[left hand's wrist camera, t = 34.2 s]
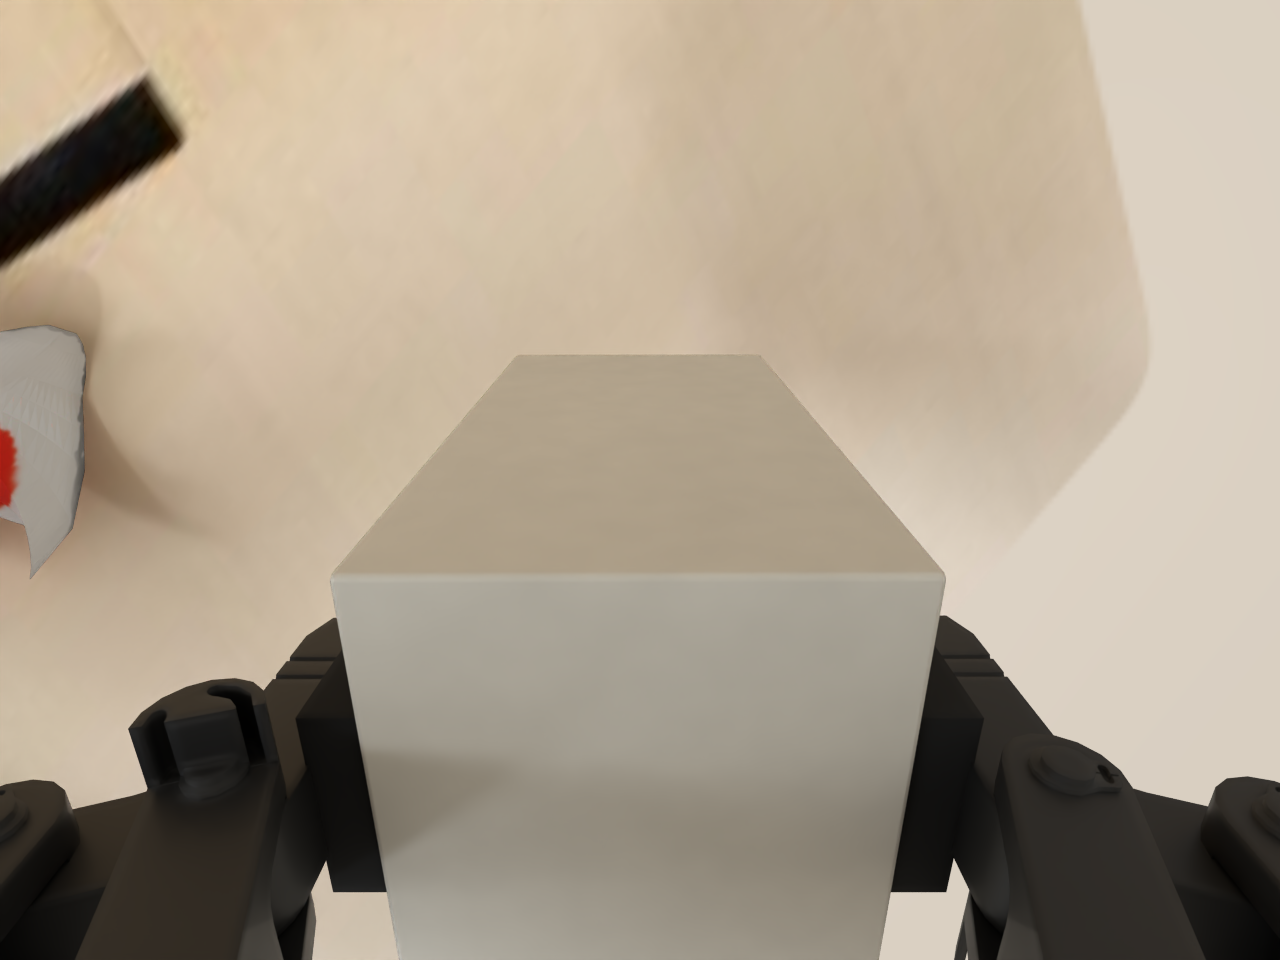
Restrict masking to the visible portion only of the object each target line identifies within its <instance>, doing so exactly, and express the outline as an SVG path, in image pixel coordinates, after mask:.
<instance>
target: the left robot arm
mask: <svg viewBox="0 0 1280 960" xmlns="http://www.w3.org/2000/svg"><path fill="white" fill-rule="evenodd" d="M128 730H129V733H130V736H131V739H132V742H133V745H134V748H135V751H136V754H137V757H138V760H139V763H140V766H141V769H142V772H143V775H144V779H145V782H146V785H147V788H148V789H147V791H146V792H144V793H140V794H137V795H134V796H129V797H125V798H121V799H116V800H112V801H107V802H103V803H99V804H94V805H90V806H86V807H81V808H77V809H72V808H71V805H70V802H69V800H68V797H67V795H66V792H65V790H64V789H63V788H61V787H60V786H59V785H57V784H56V783H55V782H52V781H42V780H28V781H22V782H17V783H11V784H6V785H3V786H0V960H312V954H313V945H314V936H315V927H316V916H315V909H314V903H313V899H312V894H311V891H312V889H313V886H314V884H315V882H316V880H317V878H318V876H319V874H320V872H321V870H322V868H323V866H324V864H325V862H326V861H327V866H328V870H329V875H330V879H331V884H332V889H333V892H387V890H386V885H385V879H384V874H383V868H382V863H381V857H380V852H379V846H378V841H377V835H376V830H375V824H374V819H373V814H372V808H371V803H370V797H369V792H368V786H367V781H366V775H365V770H364V764H363V759H362V753H361V748H360V742H359V737H358V731H357V726H356V720H355V715H354V709H353V704H352V699H351V693H350V688H349V682H348V677H347V671H346V666H345V660H344V655H343V649H342V644H341V638H340V633H339V627H338V622H337V618H333V619H331V620H330V621H328V622H327V623H325V624H324V625H322V626H321V627H319V628H318V629H316V630H315V631H313V632H312V633H310V634H309V635H307V636H306V637H305V639H304V640H303V641H302V642H301V644H300V645H299V646H298V648H297V649H296V650H295V651H294V653H293V654H292V655H291V657H290V661H287V662H286V663H285V664H284V665H283V667H282V668H281V669H280V671H279V672H278V673H277V674H276V679H272V681H271V682H270V683H269V685H268V686H267V687H266V688H265V690H264V691H263V690H262V689H261V688H260V687H259V686H257V685H256V684H255V683H254V682H251V681H246V680H241V679H236V678H232V679H219V680H210V681H206V682H203V683H199V684H195V685H191V686H188V687H185V688H183V689H181V690H179V691H176V692H174V693H172V694H170V695H168V696H165V697H163V698H161V699H160V700H159V701H157V702H156V703H154V704H153V705H151V706H150V707H149V708H147V709H146V710H144V711H143V712H142V713H141V714H140V715H139V716H138V717H137V719H136V720H135V721H134V722H133V724H132V725H131V726H130V727H129V728H128ZM953 859H955V861H956V863H957V865H958V867H959V869H960V872H961V874H962V876H963V878H964V880H965V882H966V884H967V886H968V888H969V894H968V899H967V903H966V907H965V911H964V916H963V920H962V924H961V928H960V933H959V937H958V941H957V945H956V951H955V958H954V960H965V958H966V954H967V952H968V960H1280V783H1278V782H1275V781H1270V780H1265V779H1259V778H1253V777H1237V778H1227V779H1226V780H1224V781H1223V782H1222V783H1220V784H1219V785H1218V786H1216V787H1215V790H1214V793H1213V795H1212V798H1211V800H1210V803H1209V806H1203V805H1199V804H1195V803H1190V802H1186V801H1181V800H1177V799H1173V798H1168V797H1164V796H1159V795H1155V794H1151V793H1146V792H1143V791H1140V790H1136V789H1133V788H1132V786H1131V785H1130V783H1129V782H1128V781H1127V779H1126V778H1125V776H1124V775H1123V773H1122V772H1121V771H1120V770H1119V769H1118V768H1117V767H1115V766H1114V765H1113V764H1112V763H1111V762H1109V761H1108V760H1107V759H1106V758H1104V757H1103V756H1102V755H1101V754H1099V753H1097V752H1095V751H1093V750H1091V749H1089V748H1087V747H1085V746H1083V745H1081V744H1079V743H1077V742H1074V741H1071V740H1067V739H1064V738H1061V737H1057V736H1054V735H1053V734H1052V733H1051V732H1050V730H1049V729H1048V728H1047V726H1046V725H1045V724H1044V723H1043V721H1042V720H1041V719H1040V718H1039V716H1038V715H1037V714H1036V713H1035V711H1034V710H1033V709H1032V707H1031V706H1030V705H1029V704H1028V702H1027V701H1026V700H1025V699H1024V697H1023V696H1022V695H1021V694H1020V692H1019V691H1018V690H1017V688H1016V687H1015V686H1014V685H1013V683H1012V682H1011V681H1010V680H1009V678H1008V677H1004V672H1003V671H1002V669H1001V668H1000V667H999V666H998V664H997V663H996V662H995V661H994V659H990V654H989V653H988V652H987V650H986V649H985V648H984V647H983V645H982V644H981V643H980V642H979V640H978V639H977V638H976V637H975V635H974V634H973V633H971V632H970V631H968V630H967V629H965V628H964V627H962V626H961V625H959V624H958V623H956V622H955V621H953V620H952V619H950V618H949V617H947V616H940V617H939V622H938V628H937V634H936V639H935V645H934V650H933V656H932V662H931V667H930V673H929V679H928V684H927V690H926V696H925V701H924V707H923V712H922V718H921V724H920V729H919V735H918V741H917V746H916V752H915V758H914V763H913V769H912V774H911V780H910V786H909V791H908V797H907V803H906V808H905V814H904V820H903V825H902V831H901V836H900V842H899V848H898V853H897V859H896V865H895V870H894V876H893V882H892V887H891V892H946V891H947V886H948V882H949V877H950V872H951V868H952V863H953Z"/></svg>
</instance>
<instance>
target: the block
mask: <svg viewBox="0 0 1280 960" xmlns="http://www.w3.org/2000/svg"><path fill="white" fill-rule="evenodd" d="M945 583H946V577H945V574H944V572H943V571H942V569H941V568H940V567H939V566H938V565H937V564H936V562H935V561H934V560H933V559H932V558H931V556H930V555H929V554H928V553H927V552H926V551H925V549H924V548H923V547H922V546H921V545H920V543H919V542H918V541H917V540H916V539H915V538H914V536H913V535H912V534H911V533H910V532H909V530H908V529H907V528H906V527H905V526H904V525H903V523H902V522H901V521H900V520H899V519H898V518H897V516H896V515H895V514H894V513H893V512H892V510H891V509H890V508H889V507H888V506H887V505H886V503H885V502H884V501H883V500H882V499H881V497H880V496H879V495H878V494H877V493H876V492H875V490H874V489H873V488H872V487H871V486H870V484H869V483H868V482H867V481H866V480H865V479H864V477H863V476H862V475H861V474H860V473H859V471H858V470H857V469H856V468H855V467H854V466H853V464H852V463H851V462H850V461H849V460H848V458H847V457H846V456H845V455H844V454H843V453H842V451H841V450H840V449H839V448H838V447H837V445H836V444H835V443H834V442H833V441H832V440H831V438H830V437H829V436H828V435H827V434H826V432H825V431H824V430H823V429H822V428H821V427H820V425H819V424H818V423H817V422H816V421H815V419H814V418H813V417H812V416H811V415H810V414H809V412H808V411H807V410H806V409H805V408H804V406H803V405H802V404H801V403H800V402H799V401H798V399H797V398H796V397H795V396H794V395H793V394H792V392H791V391H790V390H789V389H788V388H787V386H786V385H785V384H784V383H783V382H782V381H781V379H780V378H779V377H778V376H777V375H776V373H775V372H774V371H773V370H772V369H771V368H770V366H769V365H768V364H767V363H766V362H765V360H764V359H763V358H762V357H761V356H760V355H518V356H516V357H515V358H514V360H513V361H512V362H511V363H510V364H509V366H508V367H507V368H506V369H505V370H504V371H503V373H502V374H501V375H500V376H499V377H498V379H497V380H496V381H495V382H494V383H493V384H492V386H491V387H490V388H489V389H488V390H487V391H486V393H485V394H484V395H483V396H482V397H481V399H480V400H479V401H478V402H477V403H476V404H475V406H474V407H473V408H472V409H471V410H470V412H469V413H468V414H467V415H466V416H465V417H464V419H463V420H462V421H461V422H460V423H459V425H458V426H457V427H456V428H455V429H454V430H453V432H452V433H451V434H450V435H449V436H448V437H447V439H446V440H445V441H444V442H443V443H442V445H441V446H440V447H439V448H438V449H437V450H436V452H435V453H434V454H433V455H432V456H431V458H430V459H429V460H428V461H427V462H426V463H425V465H424V466H423V467H422V468H421V469H420V470H419V472H418V473H417V474H416V475H415V476H414V478H413V479H412V480H411V481H410V482H409V483H408V485H407V486H406V487H405V488H404V489H403V491H402V492H401V493H400V494H399V495H398V496H397V498H396V499H395V500H394V501H393V502H392V503H391V505H390V506H389V507H388V508H387V509H386V511H385V512H384V513H383V514H382V515H381V516H380V518H379V519H378V520H377V521H376V522H375V524H374V525H373V526H372V527H371V528H370V529H369V531H368V532H367V533H366V534H365V535H364V536H363V538H362V539H361V540H360V541H359V542H358V544H357V545H356V546H355V547H354V548H353V549H352V551H351V552H350V553H349V554H348V555H347V557H346V558H345V559H344V560H343V561H342V562H341V564H340V565H339V566H338V567H337V568H336V570H335V571H334V572H333V573H332V575H331V578H330V584H331V589H332V594H333V600H334V605H335V611H336V616H337V622H338V627H339V633H340V638H341V644H342V649H343V655H344V660H345V666H346V671H347V677H348V682H349V688H350V693H351V699H352V704H353V709H354V715H355V720H356V726H357V731H358V737H359V742H360V748H361V753H362V759H363V764H364V770H365V775H366V781H367V786H368V792H369V797H370V803H371V808H372V814H373V819H374V824H375V830H376V835H377V841H378V846H379V852H380V857H381V863H382V868H383V874H384V879H385V885H386V890H387V896H388V901H389V907H390V912H391V918H392V923H393V929H394V934H395V940H396V945H397V950H398V956H399V960H879V955H880V949H881V944H882V938H883V932H884V927H885V921H886V915H887V910H888V904H889V898H890V893H891V887H892V882H893V876H894V870H895V865H896V859H897V853H898V848H899V842H900V836H901V831H902V825H903V820H904V814H905V808H906V803H907V797H908V791H909V786H910V780H911V774H912V769H913V763H914V758H915V752H916V746H917V741H918V735H919V729H920V724H921V718H922V712H923V707H924V701H925V696H926V690H927V684H928V679H929V673H930V667H931V662H932V656H933V650H934V645H935V639H936V634H937V628H938V622H939V617H940V611H941V605H942V600H943V594H944V588H945Z"/></svg>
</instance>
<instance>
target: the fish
mask: <svg viewBox="0 0 1280 960" xmlns="http://www.w3.org/2000/svg"><path fill="white" fill-rule="evenodd" d="M85 377H86V356H85V352H84V348H83V344H82V342H81V340H80V338H79V337H78V335H77V334H76V333H72V332H69V331H66V330H63V329H60V328H57V327H54V326H51V325H43V326H31V327H24V328H18V329H13V330H7V331H2V332H0V517H1V518H4V519H7V520H9V521H12V522H15V523H19V524H22V525H24V526H25V530H26V534H27V537H28V543H29V548H30V556H31V574H30V579H31V578H32V576H33V575H34V574H35V573H36V572H37V570H38V569H39V568H40V567H41V566H42V564H43V563H44V562H45V561H46V560H47V558H48V557H49V556H50V555H51V554H52V553H53V551H54V550H55V549H56V548H57V547H58V545H59V544H60V543H61V542H62V541H63V539H64V538H65V537H66V536H67V535H68V533H69V532H70V531H71V530H72V529H73V524H74V519H75V514H76V509H77V505H78V500H79V495H80V490H81V486H82V481H83V476H84V471H85V465H84V424H83V399H82V396H83V390H84V384H85Z"/></svg>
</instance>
